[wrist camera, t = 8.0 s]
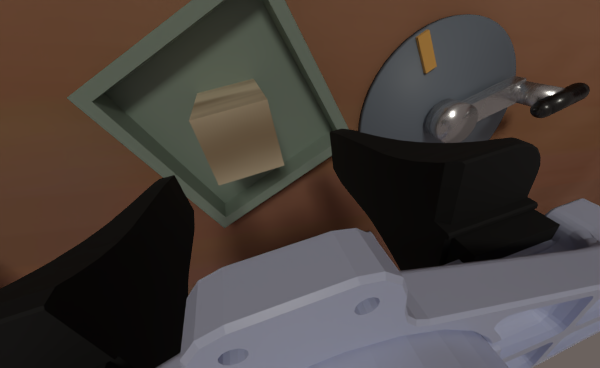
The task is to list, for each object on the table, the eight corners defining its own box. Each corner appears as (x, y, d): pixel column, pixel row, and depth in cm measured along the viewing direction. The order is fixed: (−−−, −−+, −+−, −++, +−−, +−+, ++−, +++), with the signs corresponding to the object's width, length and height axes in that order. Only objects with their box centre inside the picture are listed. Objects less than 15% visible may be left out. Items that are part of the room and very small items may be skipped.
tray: (341, 129, 22) (354, 140, 20) (223, 210, 23) (224, 227, 21) (253, -42, 15) (258, -52, 13) (86, 88, 16) (66, 97, 14)
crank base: (511, 131, 28) (518, 134, 27) (388, 210, 29) (392, 214, 29) (508, -33, 19) (519, -36, 18) (329, 92, 20) (333, 94, 20)
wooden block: (268, 130, 20) (284, 165, 15) (218, 145, 20) (218, 185, 15) (253, 78, 18) (267, 99, 13) (197, 93, 17) (189, 120, 12)
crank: (426, 142, 24) (471, 168, 20) (424, 108, 22) (473, 129, 18) (522, 96, 25) (587, 111, 20) (529, 58, 22) (603, 66, 18)
